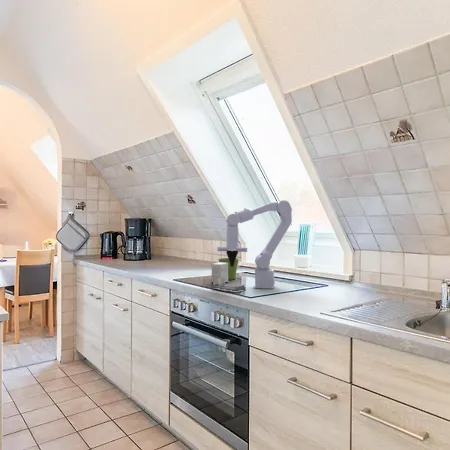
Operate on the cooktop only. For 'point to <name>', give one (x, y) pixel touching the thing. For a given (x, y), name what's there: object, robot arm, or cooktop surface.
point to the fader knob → (221, 281)
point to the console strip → (229, 287)
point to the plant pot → (230, 269)
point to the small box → (219, 271)
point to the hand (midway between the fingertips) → (232, 266)
